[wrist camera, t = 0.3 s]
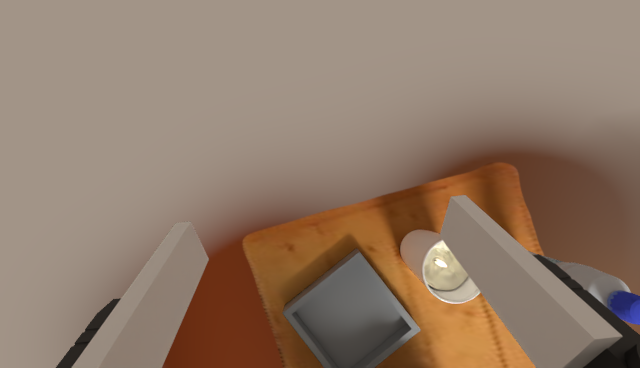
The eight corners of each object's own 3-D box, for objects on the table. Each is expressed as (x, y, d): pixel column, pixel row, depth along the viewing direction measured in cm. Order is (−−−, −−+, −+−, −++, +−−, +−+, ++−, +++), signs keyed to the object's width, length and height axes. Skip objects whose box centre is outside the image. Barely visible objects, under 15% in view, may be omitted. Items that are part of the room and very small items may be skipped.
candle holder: (415, 284, 46) (449, 317, 34) (385, 245, 46) (409, 264, 34) (454, 254, 46) (501, 277, 34) (424, 215, 46) (460, 224, 34)
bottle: (507, 283, 46) (653, 355, 26) (480, 262, 46) (605, 317, 26) (527, 257, 46) (688, 308, 26) (501, 236, 46) (641, 271, 26)
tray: (414, 320, 45) (420, 330, 42) (342, 379, 45) (343, 392, 42) (356, 247, 46) (359, 251, 43) (284, 305, 45) (282, 313, 42)
